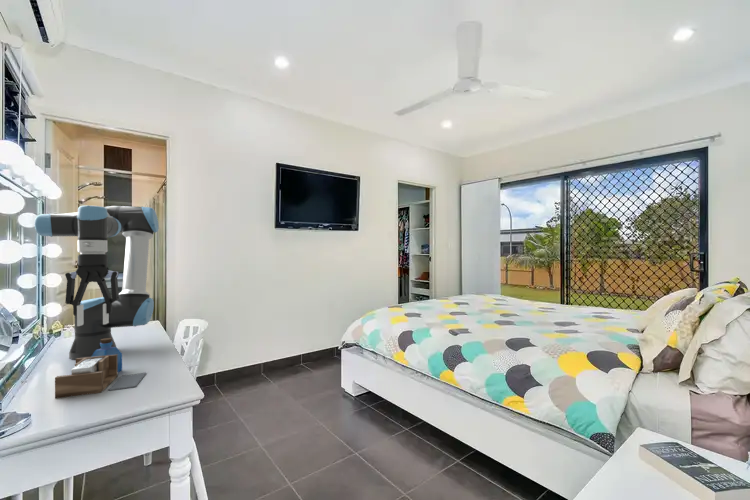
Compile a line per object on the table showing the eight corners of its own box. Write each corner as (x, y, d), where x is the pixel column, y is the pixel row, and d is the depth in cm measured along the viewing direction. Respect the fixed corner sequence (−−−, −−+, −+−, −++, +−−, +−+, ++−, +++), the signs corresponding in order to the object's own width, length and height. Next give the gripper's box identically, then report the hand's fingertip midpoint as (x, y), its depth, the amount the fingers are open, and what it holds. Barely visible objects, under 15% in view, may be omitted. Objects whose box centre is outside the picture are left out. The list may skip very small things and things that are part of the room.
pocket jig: (77, 380, 112) (77, 358, 112) (117, 376, 116) (117, 354, 116) (55, 398, 99) (54, 372, 99) (101, 392, 103) (101, 367, 103)
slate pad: (122, 376, 116) (122, 375, 116) (146, 373, 119) (146, 372, 119) (108, 390, 104) (108, 389, 104) (135, 387, 107) (135, 386, 107)
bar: (85, 370, 111) (85, 359, 111) (103, 368, 113) (102, 357, 113) (71, 381, 102) (71, 369, 102) (90, 378, 103) (90, 367, 103)
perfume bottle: (105, 377, 116) (104, 341, 116) (90, 375, 117) (90, 340, 117) (122, 370, 122) (121, 337, 122) (107, 369, 123) (107, 336, 123)
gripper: (49, 253, 104) (49, 329, 104) (124, 253, 111) (124, 324, 111) (61, 253, 111) (61, 324, 111) (131, 253, 118) (131, 319, 118)
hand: (93, 324), depth 111 cm, fingers open, 6 cm apart
